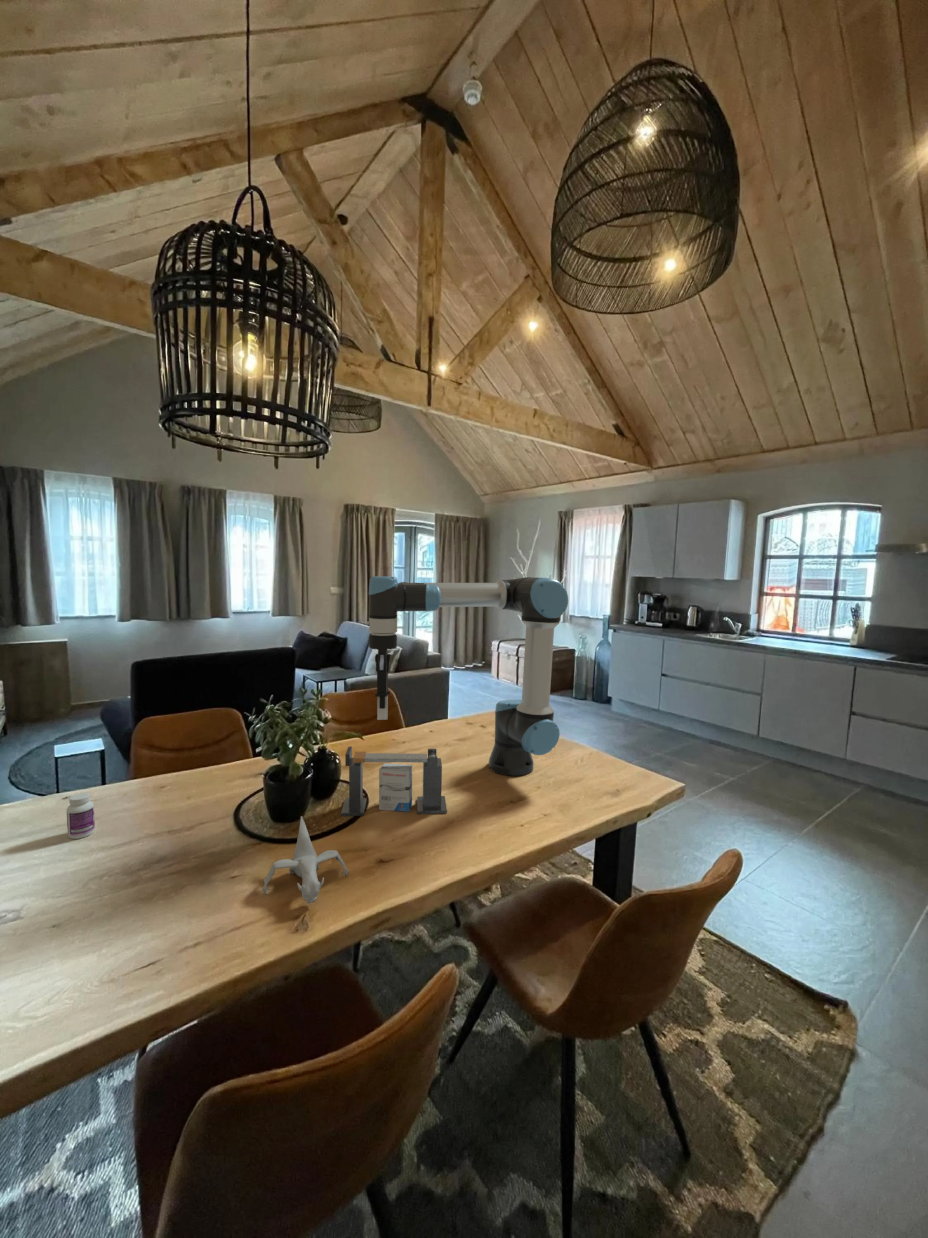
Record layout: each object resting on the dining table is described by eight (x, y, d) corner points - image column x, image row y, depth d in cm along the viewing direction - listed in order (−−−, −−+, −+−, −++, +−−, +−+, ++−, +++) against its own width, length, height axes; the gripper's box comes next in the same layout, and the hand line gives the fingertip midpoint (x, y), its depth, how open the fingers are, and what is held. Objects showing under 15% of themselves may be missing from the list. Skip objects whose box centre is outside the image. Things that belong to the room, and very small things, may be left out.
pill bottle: (100, 830, 125) (98, 793, 124) (78, 841, 120) (76, 802, 119) (85, 826, 127) (83, 789, 126) (62, 837, 122) (60, 798, 121)
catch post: (366, 800, 144) (366, 744, 143) (363, 815, 136) (363, 756, 134) (345, 801, 144) (345, 745, 142) (340, 816, 135) (340, 756, 133)
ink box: (412, 804, 143) (413, 764, 142) (409, 812, 138) (409, 771, 137) (383, 802, 144) (383, 762, 143) (378, 810, 139) (378, 769, 138)
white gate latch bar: (435, 758, 143) (435, 751, 143) (435, 764, 138) (436, 758, 138) (355, 757, 141) (355, 751, 141) (353, 764, 136) (353, 757, 136)
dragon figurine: (251, 896, 103) (251, 856, 100) (300, 851, 117) (301, 815, 114) (312, 922, 98) (313, 880, 96) (355, 872, 112) (357, 835, 110)
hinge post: (444, 798, 147) (445, 747, 145) (446, 813, 138) (447, 758, 136) (417, 799, 146) (418, 747, 144) (417, 814, 137) (418, 759, 136)
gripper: (370, 630, 142) (370, 712, 144) (366, 636, 129) (366, 726, 131) (397, 630, 143) (396, 712, 145) (396, 636, 130) (395, 726, 132)
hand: (382, 718), depth 138 cm, fingers closed
